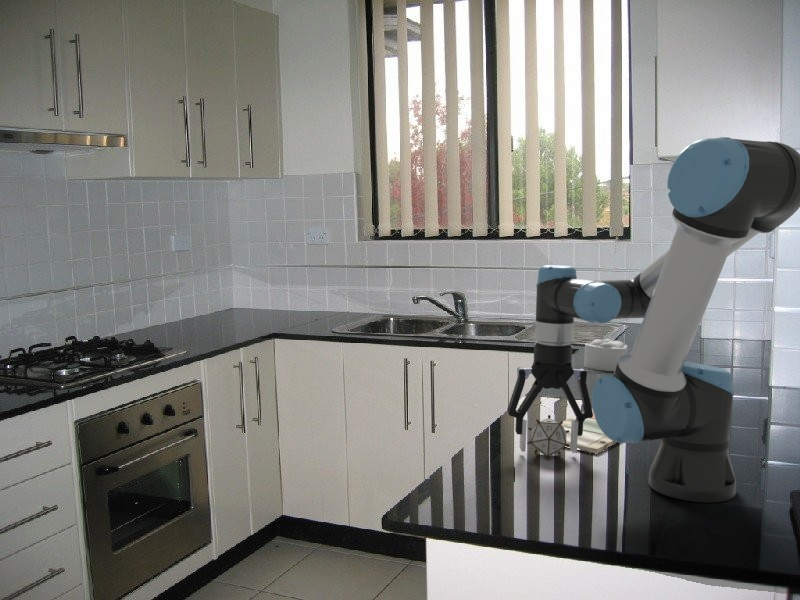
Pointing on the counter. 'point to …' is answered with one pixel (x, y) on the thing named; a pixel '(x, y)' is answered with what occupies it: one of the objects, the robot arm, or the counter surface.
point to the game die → (548, 437)
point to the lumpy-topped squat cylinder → (603, 354)
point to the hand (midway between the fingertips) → (547, 450)
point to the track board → (589, 436)
